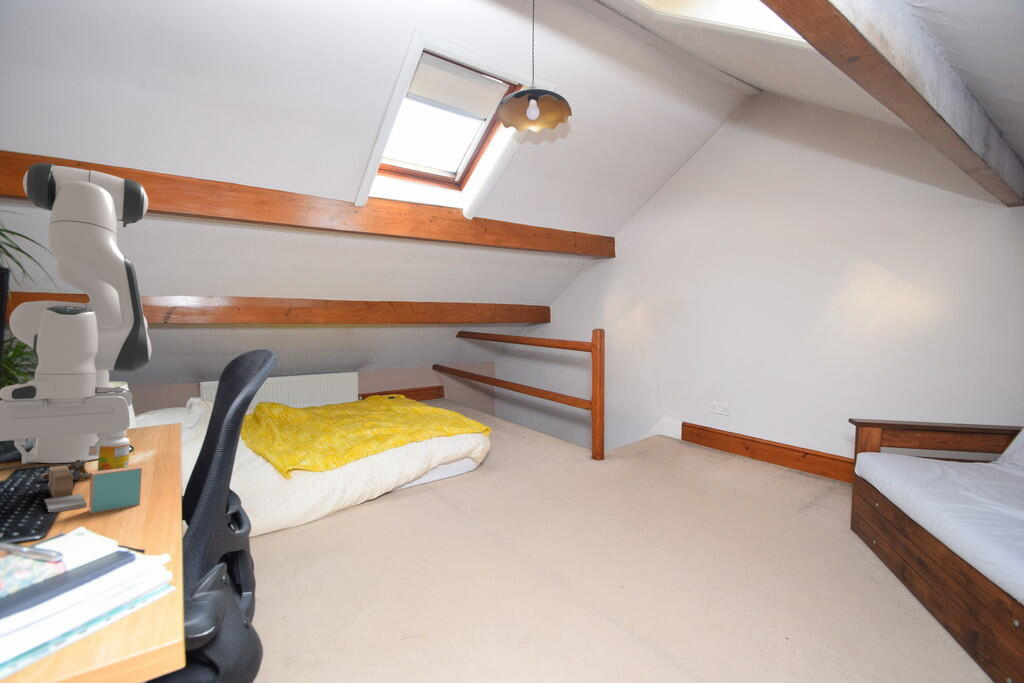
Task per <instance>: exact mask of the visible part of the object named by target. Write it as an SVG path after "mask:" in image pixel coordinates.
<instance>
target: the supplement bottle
mask: <svg viewBox="0 0 1024 683" xmlns="http://www.w3.org/2000/svg"><path fill="white" fill-rule="evenodd" d="M126 436H127V430H126V431H121V432H108V434H107V439H106V440H105V442H104V443H103V444H102V446H101V447H100V451H99V457H98V459H97V471H103V470H111V469H119V468H127V467H129V459H130V458H129V457H130V445H131V444H130V442H131V441H130V439H129V438H127V437H126Z"/></svg>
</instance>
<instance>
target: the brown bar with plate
mask: <svg viewBox="0 0 1024 683" xmlns="http://www.w3.org/2000/svg"><path fill="white" fill-rule="evenodd" d="M67 466H68V464H67V465H66V464H65V465H64V464H63V465H56V466H49V468H48V469H49V471H48V474H49V481H48V486H47V487H49V490H50V492H51V494H52V496H53V498H52V497H50V498H45V499H44V504H45V503H46V506H47V508H46V510H47V509H48V511H47V513H48V512H50V513H49V514H55V513H58V512H59V513H60V512H67V511H70V510H71V511H72V510H77V509H83V508H87V507H88V506H87V504H88V502H87V500H85V498H84V496H83V495H82V493H78V494H77V493H76V494H73V489H74V488H73V487H74V481H73V477H74V475H73V473H72V470H69V468H68V467H67ZM49 490H48V491H49ZM50 492H49V493H50ZM51 494H50V495H51ZM46 506H45V507H46ZM51 512H53V513H51Z"/></svg>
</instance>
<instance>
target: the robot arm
mask: <svg viewBox="0 0 1024 683" xmlns="http://www.w3.org/2000/svg"><path fill="white" fill-rule="evenodd" d="M22 185H23V186H22V187H23V189H24V193H25V195H26V196H27V200H28V201H29V202H31V204H32V205H34V206H35V207H38V208H40V209H43V210H46V211H50V218H49V225H48V228H49V229H48V244H49V249H50V251H51V253H52V254H53V256H55V258H56V259H57V264H56V265H57V266H56V274H57V276H58V277H59V279H60V280H61V281H62V282H63V283H65V284H67V285H68V286H71V287H72V288H74V289H77V290H79V291H81V292H83V293H85V294H86V295H87V296H88V298H89V301H88V302H85V303H84V302H74V301H73V302H72V301H71V302H70V301H61V300H60V301H58V300H36V301H35V300H34V301H25V302H22V303H20V304H19V305H17V306H16V307H15V308H14V309H13V310H12V312H11V314H10V315H9V328H10V330H11V332H12V334H13V335H14V337H15V338H17V340H19V341H20V342H22V343H24V344H26V345H27V346H29V347H30V348H31V349H32V358H34V359H35V360H36V361H37V362H38V363H37V367H36V369H35V371H34V379H33V380H29V381H22V382H19V383H16V384H12V385H8V386H7V385H6V386H4V387H2V388H1V389H0V399H1V400H0V442H5V441H6V442H8V441H14V447H15V448H16V449H17V450H18V452H19V453H20V454H21V464H23V465H24V464H31V463H44V464H46V463H47V464H60V463H61V464H62V463H63V464H66V463H76V460H80V461H81V460H86V461H94V460H98V457H99V451H100V447H101V446H102V444H103V443H104V442H105V440H106V439H107V434H108V432H121V431H126V432H127V431H128V429H129V428H130V427H131V417H130V415H131V414H130V409H129V407H130V406H131V405H132V403H133V402H132V401H133V393H132V392H131V391H130V390H129V389H127V388H124V387H123V386H116V387H115V386H114V387H109V386H110V385H109V384H110V372H109V371H113V372H125V373H134V372H137V371H138V370H140V369H142V368H143V367H144V366H146V365H147V364H149V363H150V360H151V356H152V351H153V350H152V349H153V348H152V343H151V339H150V337H149V334H148V327H149V326H148V321H147V318H146V316H145V315H144V311H143V305H142V298H141V297H142V296H141V294H140V293H141V292H140V288H139V282H138V279H137V278H138V277H137V274H136V269H135V266H134V264H133V261H132V260H131V259H130V258H128V257H127V256H125V255H124V254H123V253H122V252H121V250H120V248H119V247H118V237H117V236H118V235H117V231H118V230H117V229H118V228H117V227H118V226H117V225H118V224H117V222H122V228H126V227H127V225H129V224H134V223H138V222H139V221H140V220H143V217H144V216H145V215H146V213H147V211H148V208H149V198H148V195H147V193H146V191H145V187H144V186H143V185H142V183H140V182H137V181H134V180H132V179H129V178H127V177H126V178H123V177H122V178H121V177H120V176H116V175H112V174H109V173H104V172H101V171H99V170H98V171H97V170H94V169H93V170H92V169H91V170H87V169H83V168H78V167H70V166H62V165H55V164H54V163H50V162H49V163H48V162H35V163H34V164H31V165H30V166H29V167H28V170H26V172H25V174H24V176H23V179H22ZM30 439H31V441H33V443H32V448H31V450H29V452H27V451H26V449H25V448H24V447H23V446H26V444H27V440H30Z"/></svg>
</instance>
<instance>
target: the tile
mask: <svg viewBox="0 0 1024 683" xmlns="http://www.w3.org/2000/svg"><path fill="white" fill-rule="evenodd" d="M142 472H143V468H142V467H141V466H140V465H137V466H135V465H134V466H128V467H127V468H119V469H111V470H103V471H98V470H96V471H91V472H90V481H89V482H90V484H89V502H88V511H89V513H90V514H91V515H92V514H98V513H102V512H108V511H113V510H119V509H124V508H130V507H136V506H140V505H141V492H142V491H141V489H142V488H141V487H142Z"/></svg>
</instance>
